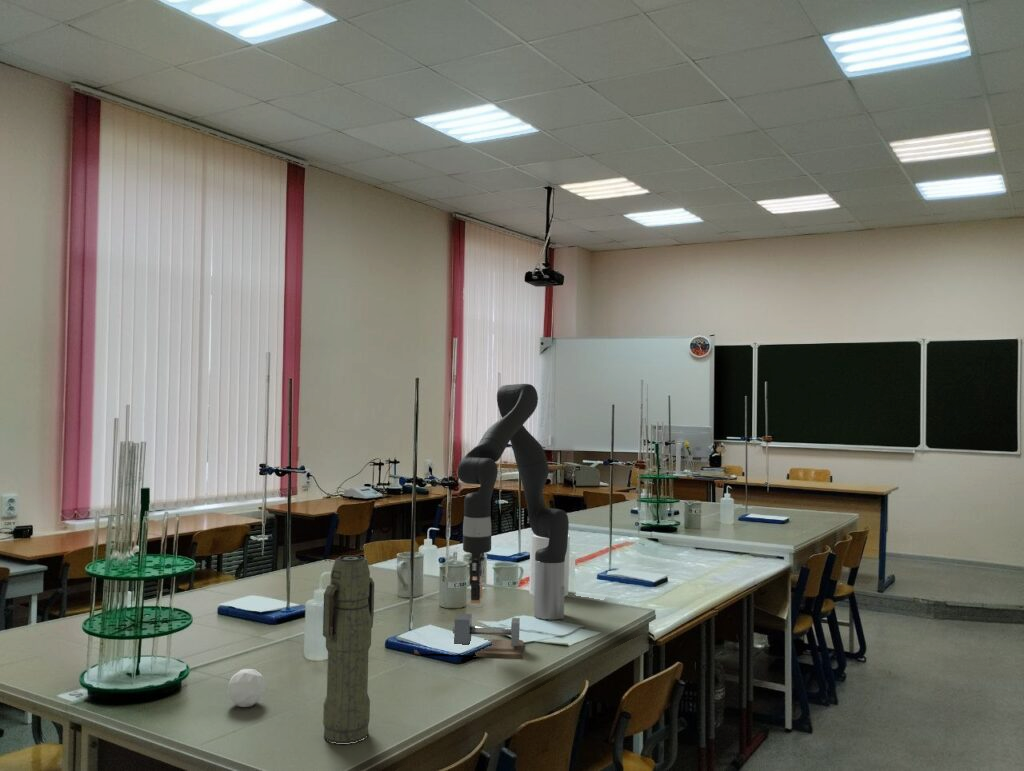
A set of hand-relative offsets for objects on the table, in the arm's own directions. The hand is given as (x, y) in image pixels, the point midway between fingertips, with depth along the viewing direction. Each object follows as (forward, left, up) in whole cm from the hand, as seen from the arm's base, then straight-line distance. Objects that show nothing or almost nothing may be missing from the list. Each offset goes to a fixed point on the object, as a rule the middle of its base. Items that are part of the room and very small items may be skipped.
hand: (476, 596), depth 212 cm
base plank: (+2, -2, -15) cm, 15 cm away
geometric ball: (+46, +42, -15) cm, 64 cm away
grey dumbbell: (-3, -2, -13) cm, 13 cm away
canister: (-19, -67, -15) cm, 71 cm away
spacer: (0, 0, -1) cm, 1 cm away
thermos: (+21, +55, -15) cm, 60 cm away
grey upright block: (+4, -2, -14) cm, 14 cm away
